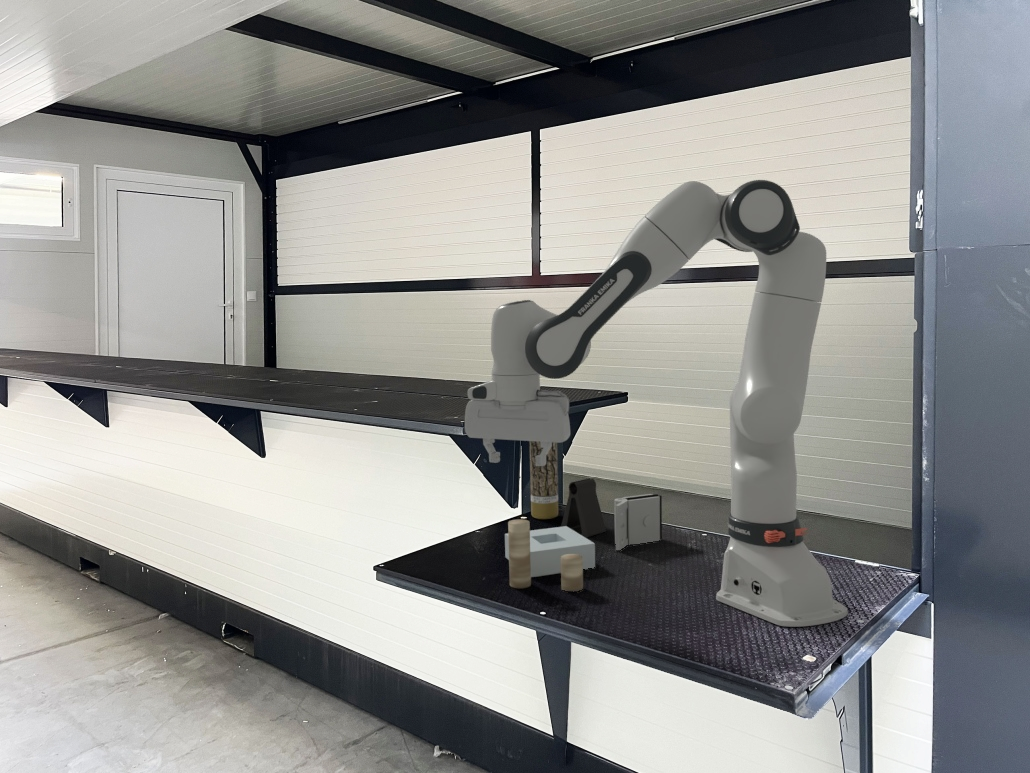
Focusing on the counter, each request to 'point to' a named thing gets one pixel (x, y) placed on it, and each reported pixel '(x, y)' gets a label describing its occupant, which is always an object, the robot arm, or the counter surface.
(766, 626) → the counter surface
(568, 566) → the short pin
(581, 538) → the hole board
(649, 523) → the hinge
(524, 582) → the tall pin
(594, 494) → the phone stand
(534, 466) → the bark-patterned tube
